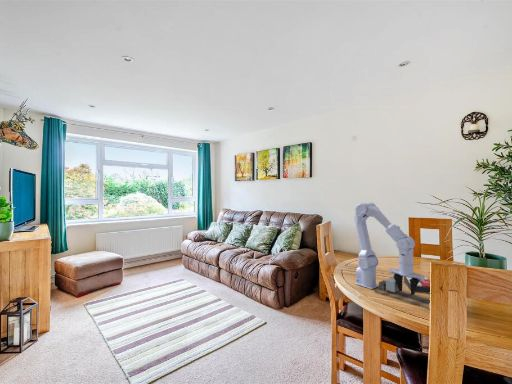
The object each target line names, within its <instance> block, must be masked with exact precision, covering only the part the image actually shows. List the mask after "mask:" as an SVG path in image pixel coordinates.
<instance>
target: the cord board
mask: <svg viewBox="0 0 512 384" xmlns="http://www.w3.org/2000/svg"><path fill="white" fill-rule="evenodd" d="M378 285H379V286H378V287H377V288H376V289H374V293H377V294H380V295H382V296H384V297H385V296H386V297H388V298H391V299H395V300H398V301H402V302H404V303H408V304H410V303H411V305H414V306H417V305H418V306H417V307H420V306H422V307H421V308H423V307H425V308H424V309H426V308H428V309H427V310H429V303H430V300H429V299H430V298H428V297H426V296H422V295H419V294H413V295H412V294H411V292H408V291H405V290H402V291H399V290H398V291H397V292H395V293H394V292H391V291H388V290H386V280H381V281H378Z"/></svg>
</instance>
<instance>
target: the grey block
mask: <svg viewBox="0 0 512 384" xmlns="http://www.w3.org/2000/svg"><path fill="white" fill-rule="evenodd" d="M385 281H386V290H388V291H391V292H394V293H395V292H397V291H398V290H399V289H398V285H397V283H396V281H395V279H394V277H389V278H386V279H385Z"/></svg>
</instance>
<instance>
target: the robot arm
mask: <svg viewBox="0 0 512 384" xmlns="http://www.w3.org/2000/svg"><path fill="white" fill-rule="evenodd" d="M354 210H355V213H354V214H355V215H354V218H353V219H354V224H355V229H356V233H357V239H358V244H359V248H360V249H359V250H360V252H359V253H358V260H357V264H358V267H357V268H356V270H355V283H354V284H355V285H357V286H361V287H365V288H367V289H371V290H373V289H375V288H376V289H377V288H379V283H377V266H378V265H379V259H378V257H377V256H376V252H375V251H374V250H373V249H372V246H371V240H370V235H369V231H368V225H367V219H368V218H369V217H373V218H374V219H376V221H378V222H379V223H380V224H381V225H382V226H383V227H384V228H385V232H386V233H387V235H388V236H389V237H390V238H391V239H392V240H393V241H394V242H395V245H396V247H397V249H398V269H396V268H390V269H388V271H389V274H393V277H392V278H394V279H395V281H396V283H397V285H398V289H399V291H403V281H404V276H405V277H409V278H412V279H410V284H411V291H410V293H411V294H412V295H413V294H415V293H416V292H415V289H416V287H417V284H418V283H419V281H420V280H421V281H425V277H426V276H425V275H422V274H419V273H416V272H414V248H415V247H416V241H415V240H414V239H413V237H412V236H408V234H407V233H405V232H404V231H403V230H402V229H401V226H399V225H397V224H392V222H391V221H390V220H389V219H388V218H387V217H386V216H385V214H383V212H382V211H381V210H380V208H379V207H378V206H377V205H376V204H375V203H373V202H360V203H358V204H357V205H356V206H355V208H354ZM415 295H416V294H415Z"/></svg>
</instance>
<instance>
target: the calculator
mask: <svg viewBox="0 0 512 384" xmlns="http://www.w3.org/2000/svg"><path fill="white" fill-rule="evenodd" d="M410 279H412V278H409V277H405V276H403V282H404V284H406V287H407V288H408V290H409V291H410V292H411V284H410ZM430 282H431V281H430V279H429V278H428V277H426V276H425V281H421V280H420V281H419V283H418V284H417V287H416V289H415V293H417V292H418V293H424V292H426V293H425V294H430V293H429V292H430Z"/></svg>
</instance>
